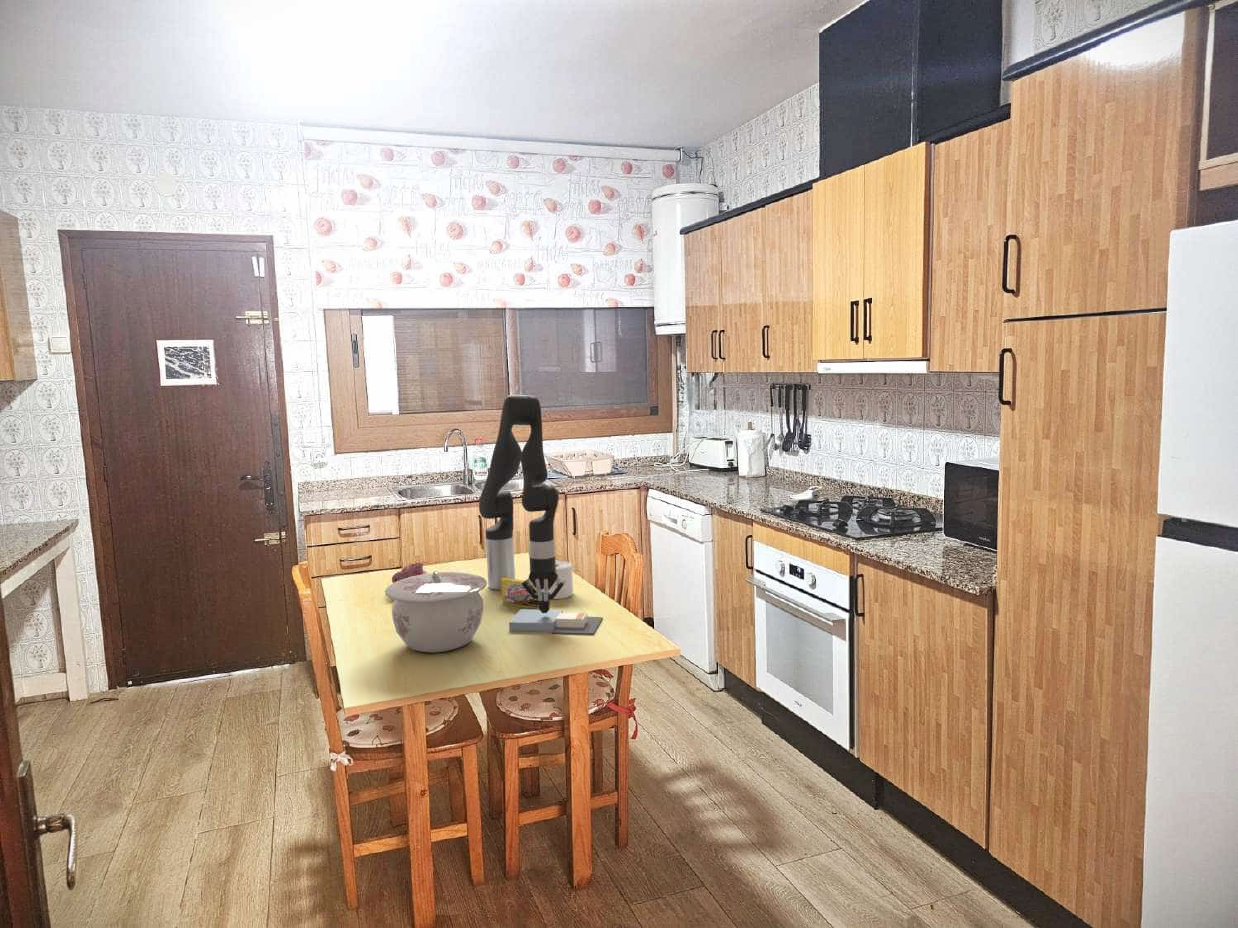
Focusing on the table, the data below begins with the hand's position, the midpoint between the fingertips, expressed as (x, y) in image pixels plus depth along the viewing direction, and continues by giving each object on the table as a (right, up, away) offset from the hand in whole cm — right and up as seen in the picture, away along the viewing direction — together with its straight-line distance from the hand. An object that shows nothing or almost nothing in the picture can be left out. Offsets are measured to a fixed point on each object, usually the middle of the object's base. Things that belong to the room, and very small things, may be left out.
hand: (544, 612), depth 236 cm
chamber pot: (-27, -7, -13) cm, 31 cm away
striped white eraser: (+8, -3, -2) cm, 9 cm away
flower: (-48, 0, +37) cm, 60 cm away
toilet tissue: (+1, 0, +30) cm, 30 cm away
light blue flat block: (-2, -4, +1) cm, 4 cm away
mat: (+10, -4, -2) cm, 11 cm away
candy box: (-8, -2, +19) cm, 21 cm away
